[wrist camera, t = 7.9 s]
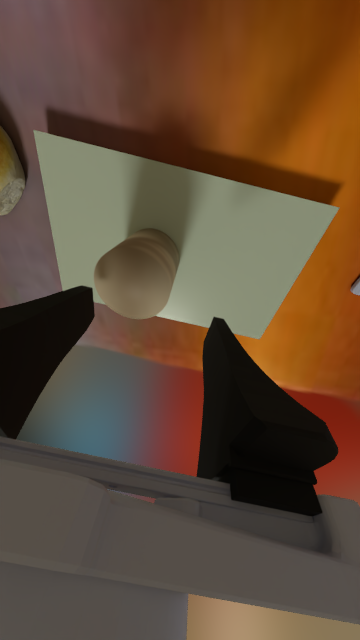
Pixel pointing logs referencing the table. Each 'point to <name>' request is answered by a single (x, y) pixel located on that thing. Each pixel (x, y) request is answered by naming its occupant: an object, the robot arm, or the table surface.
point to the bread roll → (9, 174)
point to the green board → (180, 230)
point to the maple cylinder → (138, 274)
